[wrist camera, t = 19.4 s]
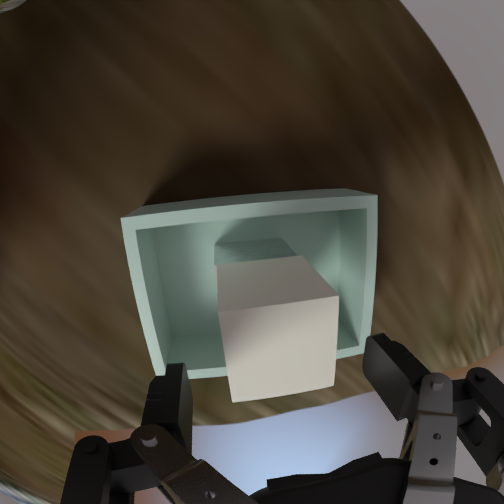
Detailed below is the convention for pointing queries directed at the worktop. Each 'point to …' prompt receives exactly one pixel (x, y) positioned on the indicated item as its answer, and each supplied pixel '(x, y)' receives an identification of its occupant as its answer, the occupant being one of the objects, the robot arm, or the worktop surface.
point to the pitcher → (9, 4)
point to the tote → (235, 230)
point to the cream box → (276, 327)
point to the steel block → (250, 251)
